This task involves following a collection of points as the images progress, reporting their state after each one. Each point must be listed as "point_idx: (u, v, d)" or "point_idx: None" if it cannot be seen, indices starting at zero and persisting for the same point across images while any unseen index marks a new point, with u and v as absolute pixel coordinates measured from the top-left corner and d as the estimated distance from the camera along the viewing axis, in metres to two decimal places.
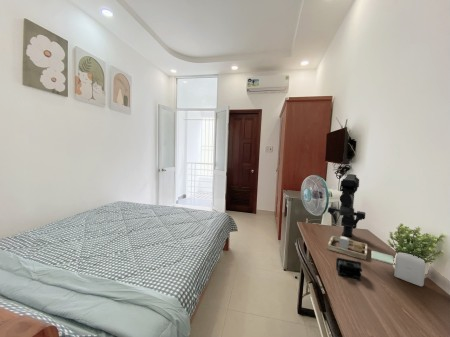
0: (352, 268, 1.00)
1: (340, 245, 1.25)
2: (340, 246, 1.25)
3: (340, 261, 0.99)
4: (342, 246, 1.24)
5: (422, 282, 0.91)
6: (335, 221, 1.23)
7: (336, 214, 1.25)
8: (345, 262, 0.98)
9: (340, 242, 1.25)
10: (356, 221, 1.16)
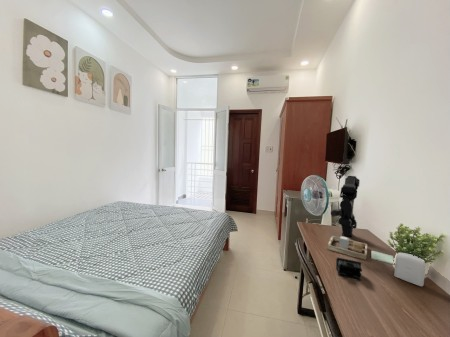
0: (352, 268, 1.00)
1: (340, 245, 1.25)
2: (340, 246, 1.25)
3: (340, 261, 0.99)
4: (342, 246, 1.24)
5: (422, 282, 0.91)
6: None
7: None
8: (345, 262, 0.98)
9: (340, 242, 1.25)
10: None
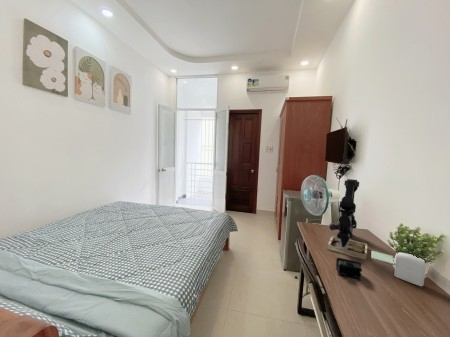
0: (352, 268, 1.00)
1: (340, 245, 1.25)
2: (340, 246, 1.25)
3: (340, 261, 0.99)
4: None
5: (422, 282, 0.91)
6: None
7: None
8: (345, 262, 0.98)
9: (340, 242, 1.25)
10: None
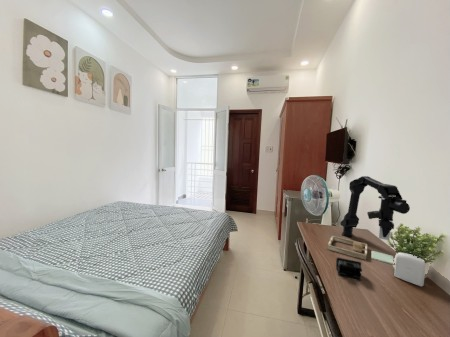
0: (352, 268, 1.00)
1: (380, 235, 1.13)
2: (380, 236, 1.13)
3: (340, 261, 0.99)
4: None
5: (422, 282, 0.91)
6: None
7: None
8: (345, 262, 0.98)
9: (380, 232, 1.13)
10: None
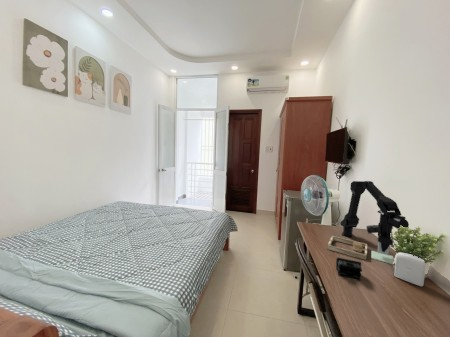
0: (352, 268, 1.00)
1: (379, 250, 1.14)
2: (379, 251, 1.14)
3: (340, 261, 0.99)
4: None
5: (422, 282, 0.91)
6: None
7: None
8: (345, 262, 0.98)
9: (379, 246, 1.14)
10: None
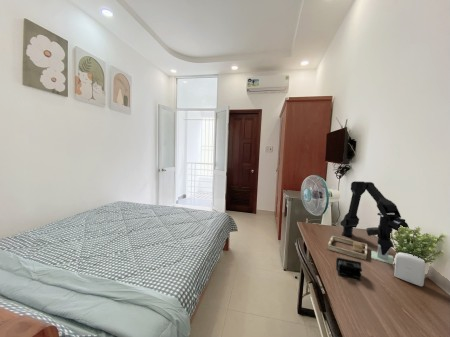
0: (352, 268, 1.00)
1: (379, 254, 1.14)
2: (379, 255, 1.14)
3: (340, 261, 0.99)
4: (382, 255, 1.13)
5: (422, 282, 0.91)
6: None
7: None
8: (345, 262, 0.98)
9: (379, 251, 1.14)
10: None
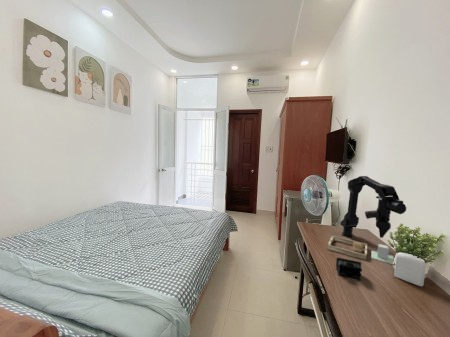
0: (352, 268, 1.00)
1: (379, 254, 1.14)
2: (379, 255, 1.14)
3: (340, 261, 0.99)
4: (382, 255, 1.13)
5: (422, 282, 0.91)
6: None
7: None
8: (345, 262, 0.98)
9: (379, 251, 1.14)
10: None
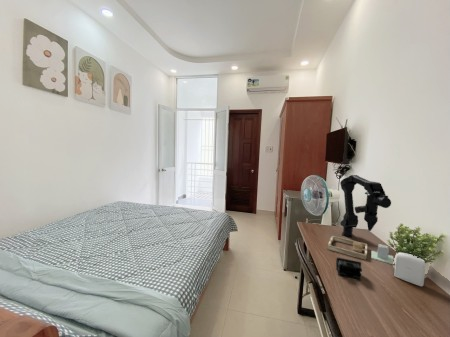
0: (352, 268, 1.00)
1: (379, 254, 1.14)
2: (379, 255, 1.14)
3: (340, 261, 0.99)
4: (382, 255, 1.13)
5: (422, 282, 0.91)
6: None
7: None
8: (345, 262, 0.98)
9: (379, 251, 1.14)
10: (367, 222, 1.20)
